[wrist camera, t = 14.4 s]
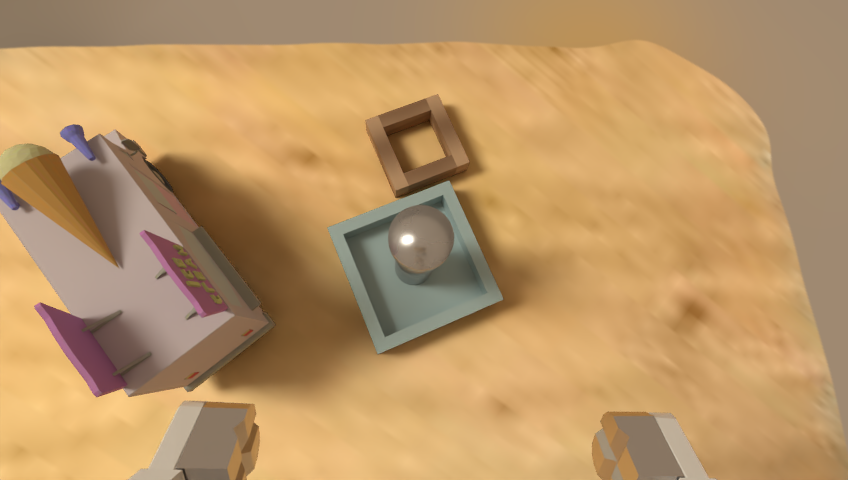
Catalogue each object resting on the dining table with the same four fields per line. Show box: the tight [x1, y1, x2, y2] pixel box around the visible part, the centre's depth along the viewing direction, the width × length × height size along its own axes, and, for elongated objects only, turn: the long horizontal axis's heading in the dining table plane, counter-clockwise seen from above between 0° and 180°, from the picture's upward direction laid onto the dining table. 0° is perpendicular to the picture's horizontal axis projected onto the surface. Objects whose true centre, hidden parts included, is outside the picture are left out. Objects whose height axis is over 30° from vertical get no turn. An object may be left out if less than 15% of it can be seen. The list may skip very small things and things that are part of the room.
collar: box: [365, 94, 470, 197], centre depth 43 cm, size 7×7×2 cm
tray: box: [328, 181, 503, 354], centre depth 41 cm, size 11×11×2 cm
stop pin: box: [388, 205, 454, 285], centre depth 36 cm, size 4×4×11 cm
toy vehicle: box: [0, 124, 276, 397], centre depth 33 cm, size 9×20×15 cm, turn 40°
